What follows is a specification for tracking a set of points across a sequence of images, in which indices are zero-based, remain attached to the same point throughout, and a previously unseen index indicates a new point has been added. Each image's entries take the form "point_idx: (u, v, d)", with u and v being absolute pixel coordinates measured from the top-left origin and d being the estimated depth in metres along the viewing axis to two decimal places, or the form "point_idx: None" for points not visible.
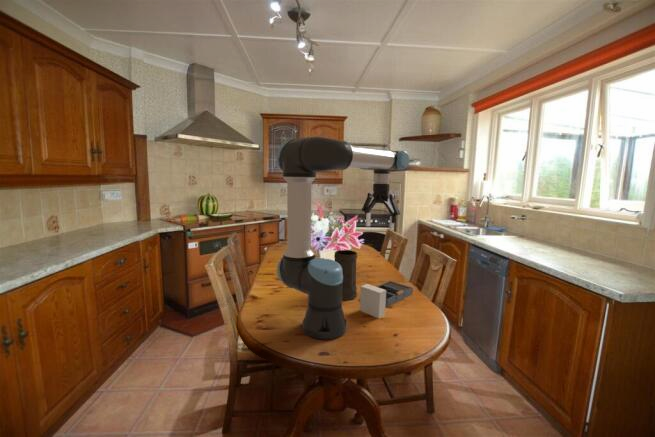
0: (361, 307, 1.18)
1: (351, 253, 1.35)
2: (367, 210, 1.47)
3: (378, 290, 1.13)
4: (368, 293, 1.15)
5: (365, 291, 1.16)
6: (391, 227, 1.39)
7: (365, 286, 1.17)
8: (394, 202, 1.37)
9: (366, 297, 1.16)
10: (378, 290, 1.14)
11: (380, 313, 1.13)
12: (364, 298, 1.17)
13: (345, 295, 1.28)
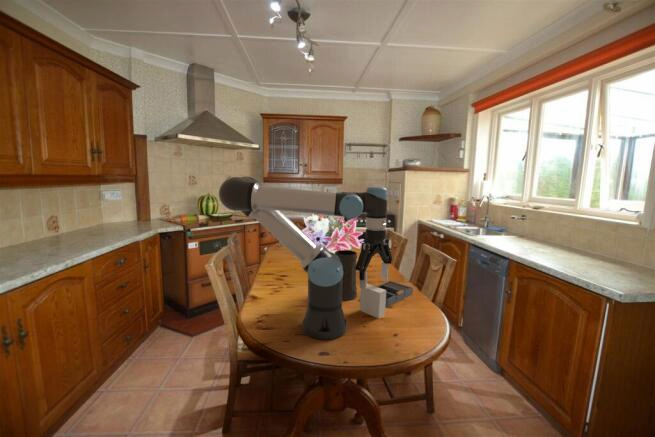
0: (361, 307, 1.18)
1: (351, 253, 1.35)
2: (382, 259, 1.20)
3: (378, 290, 1.13)
4: (368, 293, 1.15)
5: (365, 291, 1.16)
6: (361, 284, 1.11)
7: None
8: (362, 254, 1.08)
9: (366, 297, 1.16)
10: (378, 290, 1.14)
11: (380, 313, 1.13)
12: (364, 298, 1.17)
13: (345, 295, 1.28)
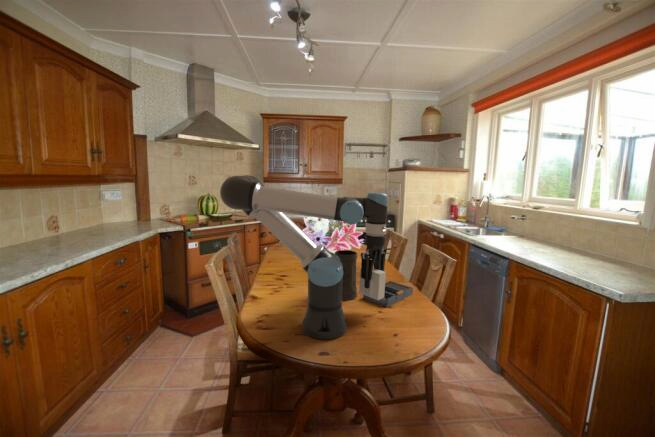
0: (360, 289, 1.17)
1: (351, 253, 1.35)
2: None
3: (378, 272, 1.12)
4: None
5: None
6: (366, 292, 1.14)
7: None
8: (363, 264, 1.10)
9: None
10: (378, 271, 1.13)
11: (379, 295, 1.12)
12: (364, 280, 1.16)
13: (345, 295, 1.28)
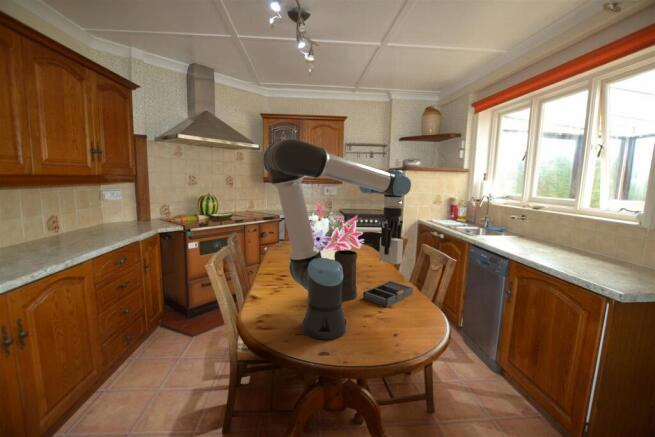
0: (380, 256, 1.32)
1: (351, 253, 1.35)
2: None
3: (396, 239, 1.28)
4: None
5: None
6: (385, 258, 1.30)
7: None
8: (383, 232, 1.25)
9: None
10: (396, 239, 1.28)
11: (397, 259, 1.27)
12: (383, 248, 1.31)
13: (345, 295, 1.28)
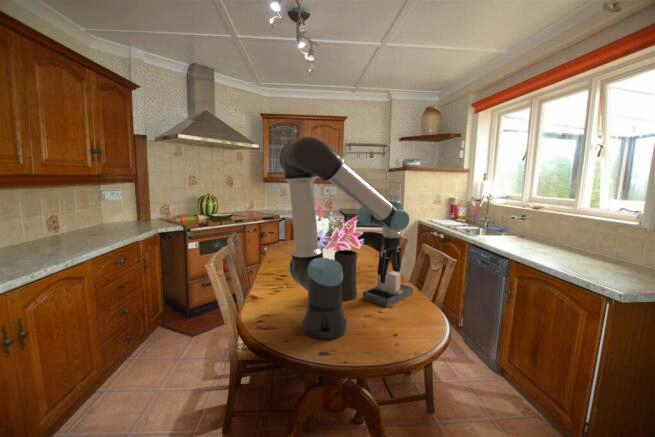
0: None
1: (351, 253, 1.35)
2: (392, 266, 1.36)
3: (394, 273, 1.29)
4: None
5: None
6: (381, 286, 1.30)
7: None
8: (380, 261, 1.27)
9: None
10: (394, 273, 1.30)
11: None
12: None
13: (345, 295, 1.28)
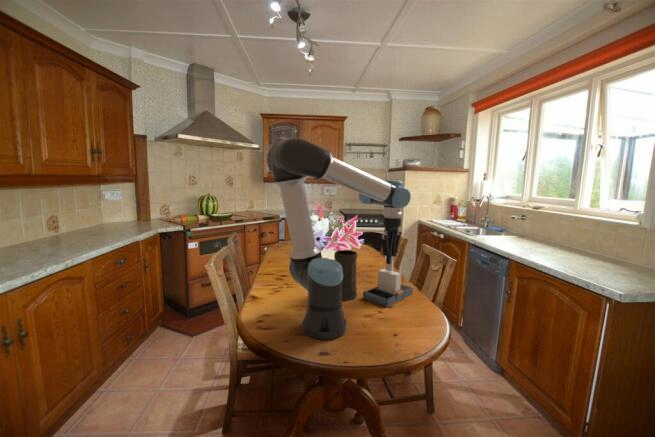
0: None
1: (351, 253, 1.35)
2: None
3: (394, 273, 1.30)
4: (385, 276, 1.31)
5: (382, 274, 1.32)
6: (387, 267, 1.32)
7: (382, 270, 1.34)
8: (384, 243, 1.27)
9: (383, 280, 1.32)
10: (394, 273, 1.30)
11: None
12: (382, 281, 1.33)
13: (345, 295, 1.28)
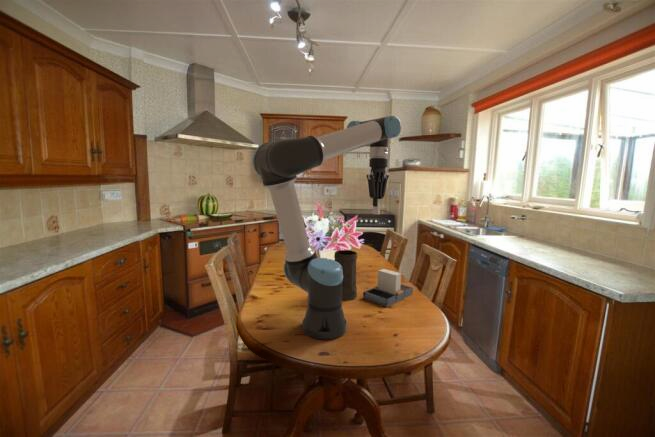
0: None
1: (351, 253, 1.35)
2: None
3: (394, 273, 1.30)
4: (385, 276, 1.31)
5: (382, 274, 1.32)
6: (374, 211, 1.30)
7: (382, 270, 1.34)
8: (370, 184, 1.25)
9: (383, 280, 1.32)
10: (394, 273, 1.30)
11: None
12: (382, 281, 1.33)
13: (345, 295, 1.28)
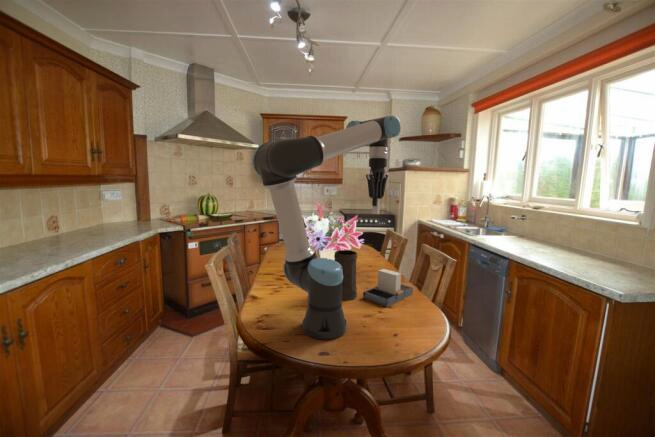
0: None
1: (351, 253, 1.35)
2: None
3: (394, 273, 1.30)
4: (385, 276, 1.31)
5: (382, 274, 1.32)
6: (373, 210, 1.30)
7: (382, 270, 1.34)
8: (369, 183, 1.25)
9: (383, 280, 1.32)
10: (394, 273, 1.30)
11: None
12: (382, 281, 1.33)
13: (345, 295, 1.28)
